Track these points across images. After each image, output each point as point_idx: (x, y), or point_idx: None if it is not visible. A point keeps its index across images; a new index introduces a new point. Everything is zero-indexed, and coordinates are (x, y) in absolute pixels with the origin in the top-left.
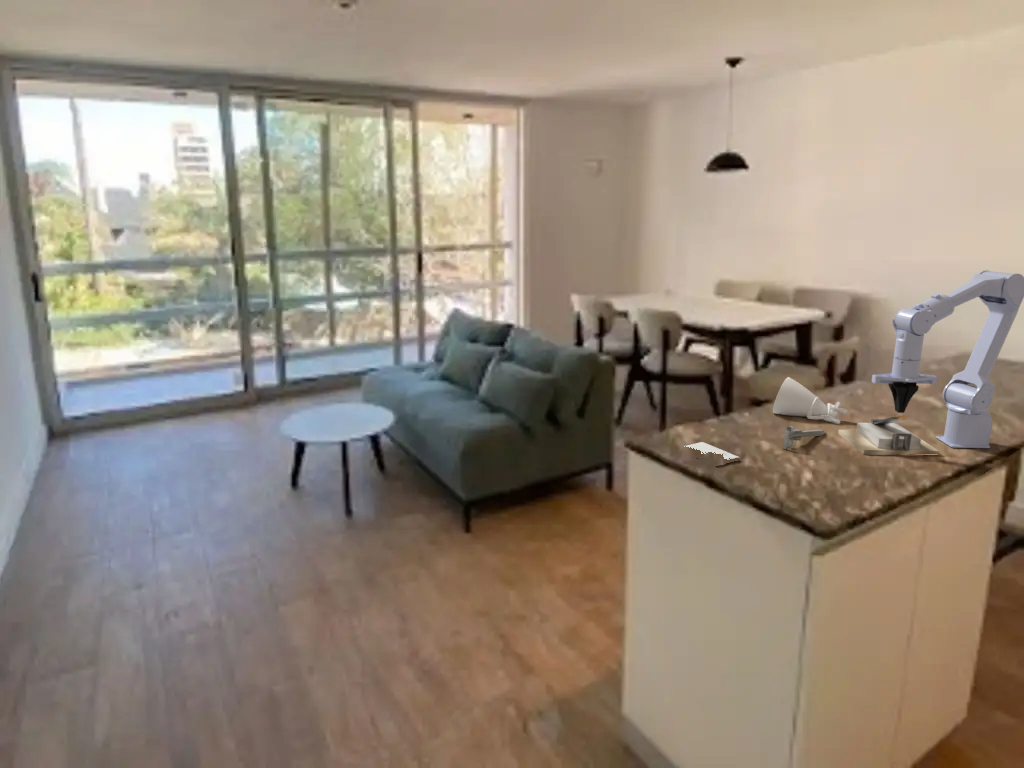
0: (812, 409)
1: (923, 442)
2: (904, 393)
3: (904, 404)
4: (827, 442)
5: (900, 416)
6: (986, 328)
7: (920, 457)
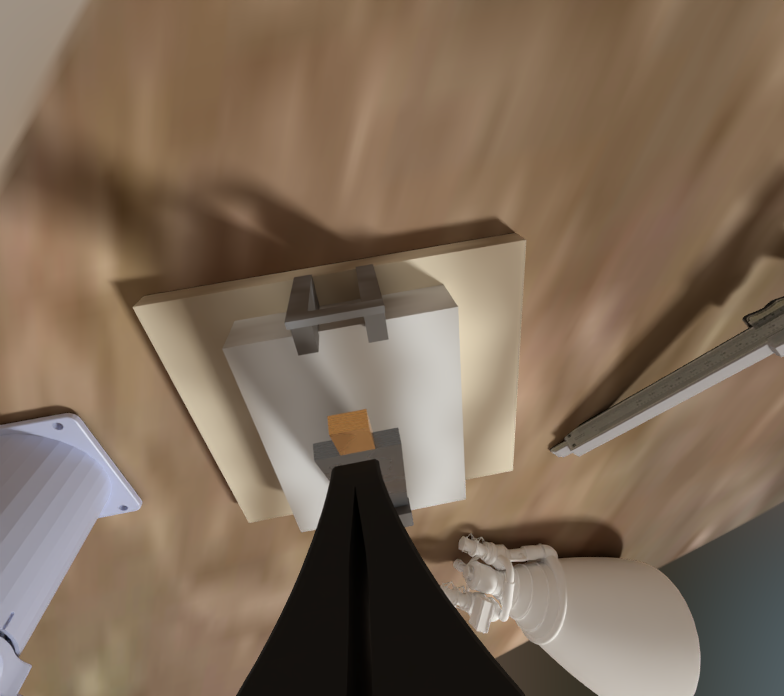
0: (559, 578)
1: (202, 411)
2: (389, 655)
3: (348, 523)
4: (594, 360)
5: (364, 423)
6: None
7: (239, 251)
